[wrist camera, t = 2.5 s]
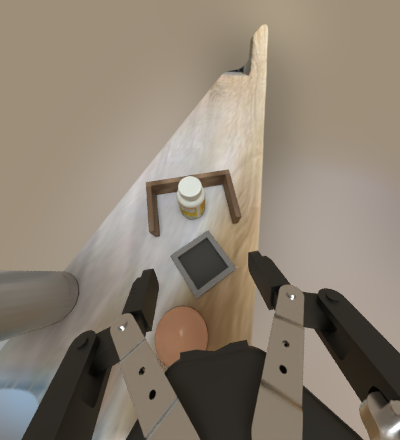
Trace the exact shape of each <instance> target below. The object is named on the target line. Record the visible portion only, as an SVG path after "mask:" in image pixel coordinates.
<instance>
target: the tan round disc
mask: <svg viewBox="0 0 400 440" xmlns="http://www.w3.org/2000/svg"><path fill="white" fill-rule="evenodd" d="M207 342H208V332H207V327H206V323H205V321H204V319H203V317H202V316H201V315H200V314H199V313H198V312H197V311H196V310H195V309H193V308H191V307H187V306H179V307H175V308H173V309H171V310H170V311H168V312H167V313H166V314H165V315H164V316H163V318H162V319H161V320H160V322H159V324H158V327H157V330H156V334H155V345H156V350H157V353H158V355H159V357H160V359H161V360H162V361H163V362H164V363H165V364H166V365H167V366H168V367H170V366H171V365H172V364H173V363H174V362H175V361H177V360H178V359H180V352H185V351H191V350H196V349H197V350H206V347H207Z"/></svg>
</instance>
